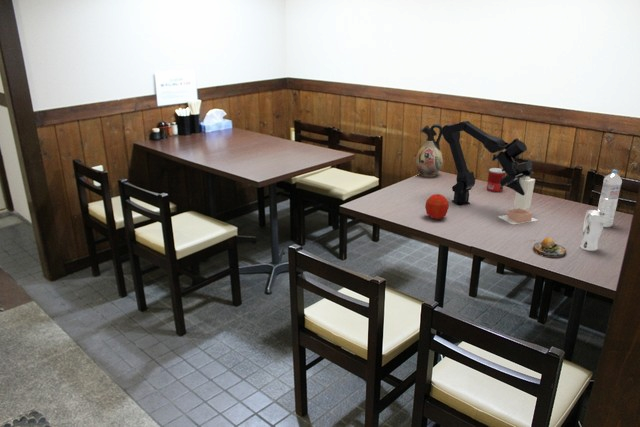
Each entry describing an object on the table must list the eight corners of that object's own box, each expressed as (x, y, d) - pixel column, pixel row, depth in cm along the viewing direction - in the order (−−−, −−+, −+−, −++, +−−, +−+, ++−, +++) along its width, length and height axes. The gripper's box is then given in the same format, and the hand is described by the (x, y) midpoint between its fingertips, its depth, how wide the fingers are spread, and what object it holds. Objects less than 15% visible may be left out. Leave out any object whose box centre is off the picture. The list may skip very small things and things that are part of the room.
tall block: (513, 206, 227) (518, 176, 222) (519, 204, 230) (524, 174, 225) (523, 210, 223) (529, 179, 218) (530, 207, 226) (535, 177, 221)
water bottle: (610, 223, 227) (622, 168, 218) (613, 228, 221) (625, 173, 212) (593, 221, 229) (604, 167, 220) (595, 226, 223) (607, 171, 214)
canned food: (503, 192, 265) (506, 172, 261) (487, 191, 267) (490, 171, 263) (501, 188, 272) (504, 168, 268) (486, 187, 274) (488, 167, 270)
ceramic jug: (411, 177, 290) (415, 124, 279) (417, 170, 304) (421, 119, 293) (442, 180, 285) (447, 127, 274) (446, 173, 298) (451, 121, 287)
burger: (571, 258, 195) (575, 240, 192) (541, 259, 194) (544, 241, 191) (555, 245, 206) (558, 228, 203) (527, 246, 205) (530, 228, 203)
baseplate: (512, 227, 223) (512, 224, 222) (497, 218, 232) (497, 216, 231) (537, 222, 227) (538, 220, 227) (522, 214, 236) (522, 212, 236)
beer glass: (575, 244, 206) (582, 209, 200) (591, 244, 206) (599, 209, 201) (585, 252, 199) (592, 216, 194) (602, 251, 200) (610, 215, 194)
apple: (420, 217, 233) (422, 193, 229) (432, 211, 240) (434, 188, 236) (440, 223, 226) (442, 199, 222) (451, 217, 233) (454, 193, 229)
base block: (518, 222, 224) (519, 215, 223) (507, 217, 230) (508, 210, 229) (531, 220, 226) (532, 213, 225) (520, 215, 232) (521, 208, 231)
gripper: (509, 157, 215) (530, 188, 211) (533, 150, 226) (552, 180, 222) (490, 171, 224) (510, 201, 220) (514, 163, 235) (533, 192, 231)
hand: (527, 193), depth 223 cm, fingers closed on tall block, 5 cm apart
